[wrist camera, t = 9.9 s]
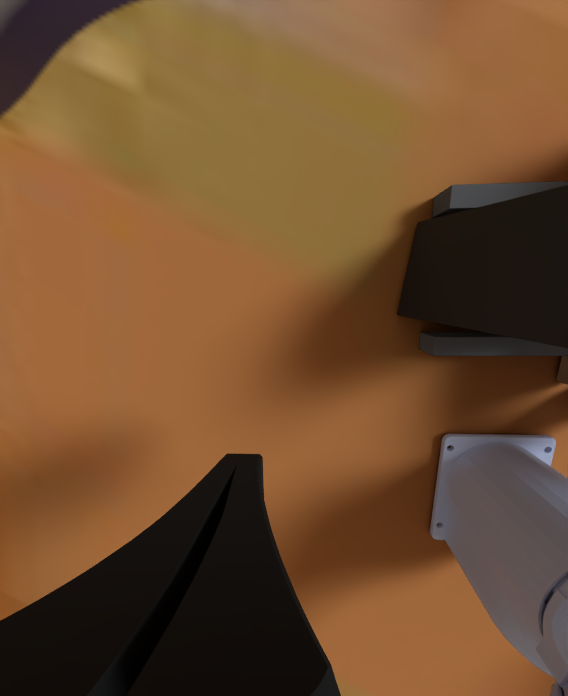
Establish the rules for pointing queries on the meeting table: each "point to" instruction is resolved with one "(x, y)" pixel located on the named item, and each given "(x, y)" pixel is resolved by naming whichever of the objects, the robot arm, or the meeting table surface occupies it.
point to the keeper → (483, 342)
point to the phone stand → (494, 269)
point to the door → (563, 370)
